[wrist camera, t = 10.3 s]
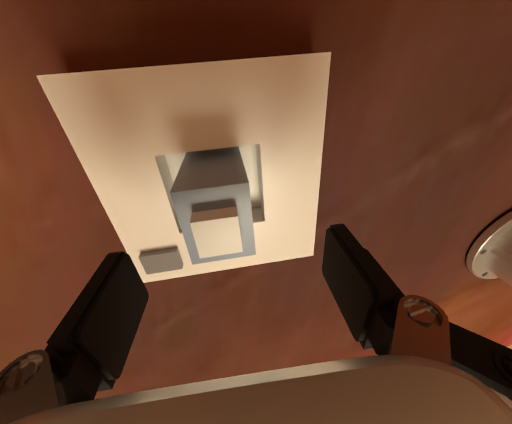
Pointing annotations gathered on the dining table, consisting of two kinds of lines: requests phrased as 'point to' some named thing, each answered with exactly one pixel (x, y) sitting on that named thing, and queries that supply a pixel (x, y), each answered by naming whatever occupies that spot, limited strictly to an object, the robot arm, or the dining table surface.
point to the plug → (214, 205)
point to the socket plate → (199, 148)
